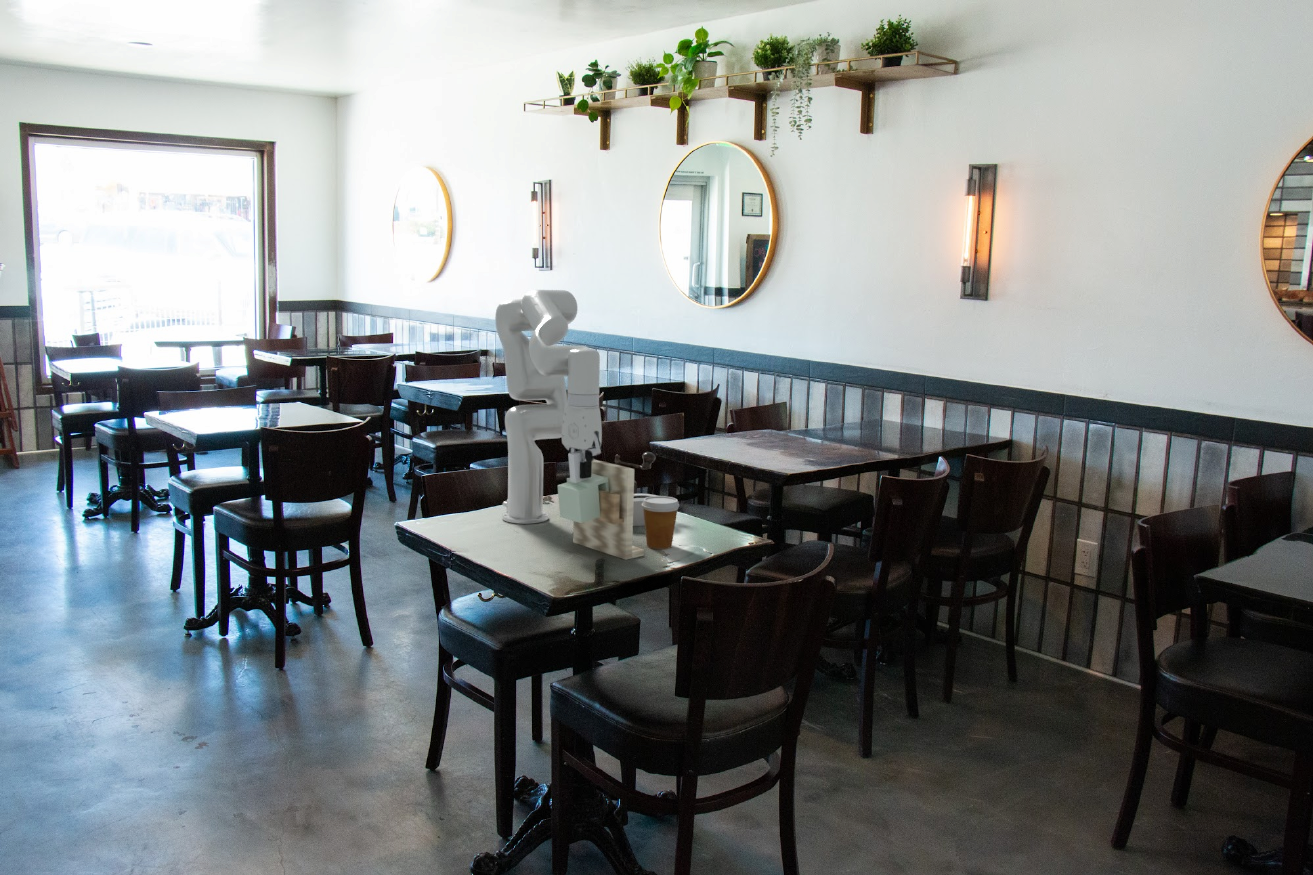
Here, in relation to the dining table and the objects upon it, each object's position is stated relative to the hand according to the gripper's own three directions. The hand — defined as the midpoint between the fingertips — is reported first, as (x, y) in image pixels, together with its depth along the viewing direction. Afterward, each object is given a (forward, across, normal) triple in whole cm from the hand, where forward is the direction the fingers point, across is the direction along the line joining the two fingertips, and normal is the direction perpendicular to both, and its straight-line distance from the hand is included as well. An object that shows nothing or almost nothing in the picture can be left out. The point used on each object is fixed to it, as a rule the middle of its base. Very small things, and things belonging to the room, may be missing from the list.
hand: (581, 476), depth 249 cm
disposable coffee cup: (+20, +6, +21) cm, 29 cm away
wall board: (+19, 0, +7) cm, 21 cm away
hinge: (+20, -14, +32) cm, 40 cm away
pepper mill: (+20, -27, +39) cm, 51 cm away
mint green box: (+10, 0, +1) cm, 10 cm away
